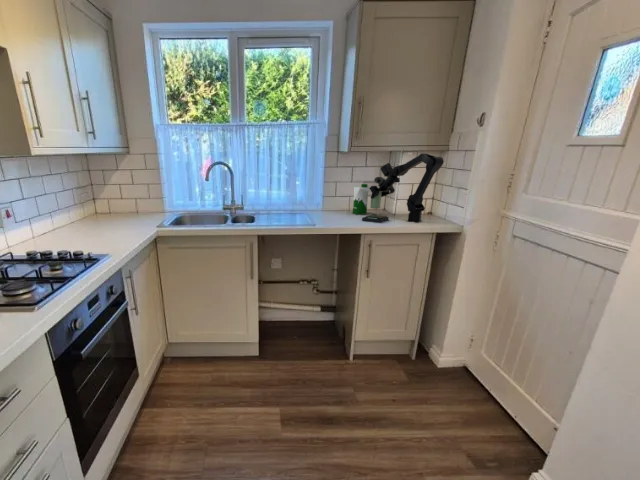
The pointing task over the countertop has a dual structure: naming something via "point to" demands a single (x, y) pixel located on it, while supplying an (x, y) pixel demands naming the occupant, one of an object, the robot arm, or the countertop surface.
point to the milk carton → (360, 199)
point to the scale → (375, 218)
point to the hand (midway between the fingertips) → (374, 197)
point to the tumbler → (376, 201)
